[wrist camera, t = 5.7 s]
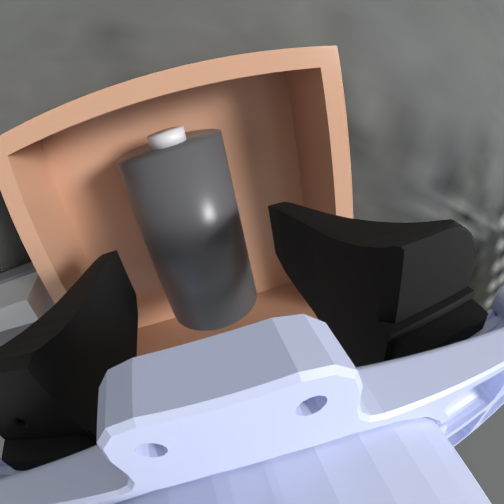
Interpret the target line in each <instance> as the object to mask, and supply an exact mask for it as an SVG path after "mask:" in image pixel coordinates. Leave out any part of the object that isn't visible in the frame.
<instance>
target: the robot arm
mask: <svg viewBox="0 0 504 504" xmlns="http://www.w3.org/2000/svg"><path fill="white" fill-rule="evenodd" d="M268 210H269V216H270V222H271V228H272V234H273V240H274V247H275V253H276V255H277V257H278V259H279V261H280V263H281V265H282V267H283V269H284V271H285V273H286V274H287V275H288V277H289V278H290V280H291V281H292V282H293V284H294V285H295V287H296V288H297V289H298V291H299V292H300V294H301V295H302V296H303V298H304V299H305V300H306V302H307V303H308V305H309V306H310V307H311V309H312V310H313V312H314V313H315V315H316V316H317V318H318V319H315V318H313V317H310V316H308V315H305V314H298V315H290V316H282V317H274V318H269V319H266V320H263V321H260V322H257V323H254V324H251V325H247V326H244V327H241V328H238V329H234V330H231V331H228V332H225V333H221V334H218V335H214V336H211V337H208V338H204V339H201V340H197V341H194V342H190V343H186V344H183V345H179V346H176V347H172V348H168V349H164V350H161V351H157V352H153V353H149V354H145V355H141V356H137V334H138V307H137V297H136V293H135V290H134V288H133V286H132V284H131V282H130V279H129V277H128V275H127V273H126V270H125V268H124V266H123V263H122V261H121V259H120V256H119V254H118V252H117V250H115V251H112V252H109V253H106V254H102V255H101V256H100V257H98V258H97V259H96V260H95V261H94V262H93V263H92V264H91V266H90V267H89V268H88V269H87V270H86V271H85V272H84V273H83V275H82V276H81V277H80V278H79V279H78V280H77V281H76V283H75V284H74V285H73V286H72V287H71V288H70V289H69V290H68V291H67V292H66V293H65V294H64V295H63V297H62V298H61V299H60V300H59V301H58V302H57V303H56V304H55V305H54V306H53V307H51V308H50V309H49V310H48V311H47V312H46V313H45V314H44V315H43V316H42V317H40V318H39V319H38V320H37V321H35V322H34V323H33V324H31V325H30V326H29V327H28V328H26V329H25V330H24V331H23V332H21V333H20V334H18V335H17V336H16V337H14V338H13V339H11V340H10V341H8V342H7V343H5V344H3V345H2V346H0V436H1V437H3V438H4V439H5V442H4V447H3V454H2V458H0V504H491V502H490V501H489V499H488V498H487V496H486V495H485V493H484V492H483V490H482V489H481V487H480V486H479V484H478V483H477V481H476V480H475V478H474V477H473V475H472V474H471V472H470V471H469V469H468V468H467V466H466V465H465V463H464V462H463V460H462V459H461V458H460V456H459V455H458V453H457V452H456V451H455V449H454V448H453V447H454V446H455V445H457V444H458V443H459V442H461V441H462V440H463V439H464V438H465V437H467V436H468V435H469V434H470V433H471V432H473V431H474V430H475V429H476V428H477V427H478V426H480V425H481V424H482V423H483V422H484V421H485V420H486V419H487V418H489V417H490V416H491V415H492V414H493V413H494V412H495V411H496V410H497V409H498V408H499V407H501V406H502V405H503V404H504V285H503V286H501V287H500V289H499V290H498V291H497V293H496V295H495V298H494V301H493V304H492V309H490V310H489V311H488V312H486V311H485V310H484V309H483V308H482V307H481V306H480V305H479V304H478V303H476V302H475V301H474V300H473V299H472V298H473V297H474V295H475V293H474V291H473V290H472V289H471V288H470V287H468V286H467V285H468V281H469V277H470V273H471V269H472V264H473V260H474V252H475V247H474V239H473V236H472V234H471V232H470V231H469V230H468V229H466V228H465V227H464V226H462V225H460V224H459V223H457V222H456V221H454V220H441V221H431V222H417V223H390V222H375V221H366V220H359V219H352V218H347V217H342V216H338V215H333V214H329V213H325V212H321V211H318V210H314V209H311V208H307V207H304V206H301V205H297V204H293V203H289V202H281V203H277V204H273V205H269V206H268Z"/></svg>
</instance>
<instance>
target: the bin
mask: <svg viewBox="0 0 504 504" xmlns="http://www.w3.org/2000/svg"><path fill="white" fill-rule="evenodd" d="M176 126H184V130H185V132H189V131H194V130H201V129H220V130H221V132H222V136H223V141H224V146H225V150H226V155H227V159H228V164H229V169H230V173H231V178H232V182H233V187H234V191H235V196H236V200H237V205H238V210H239V214H240V219H241V223H242V228H243V232H244V237H245V241H246V246H247V250H248V255H249V259H250V264H251V268H252V273H253V277H254V282H255V286H256V291H257V298H256V302H255V304H254V306H253V308H252V309H251V310H250V312H249V313H248V314H247V315H246V316H244V317H243V318H242V319H240V320H239V321H237V322H236V323H234V324H232V325H230V326H227V327H224V328H221V329H217V330H211V331H198V330H193V329H189V328H187V327H185V326H183V325H182V324H180V323H179V322H178V321H177V319H176V317H175V315H174V313H173V310H172V308H171V306H170V303H169V301H168V299H167V296H166V294H165V292H164V289H163V287H162V284H161V282H160V280H159V277H158V275H157V272H156V270H155V267H154V265H153V262H152V260H151V257H150V255H149V252H148V249H147V247H146V244H145V242H144V239H143V236H142V234H141V231H140V228H139V225H138V223H137V220H136V217H135V214H134V211H133V209H132V206H131V203H130V200H129V197H128V194H127V191H126V188H125V185H124V182H123V179H122V176H121V173H120V170H119V167H118V163H117V160H118V159H119V158H120V157H121V156H123V155H124V154H126V153H128V152H130V151H132V150H134V149H136V148H138V147H140V146H143V145H145V144H148V140H147V136H148V135H150V134H153V133H155V132H158V131H161V130H164V129H167V128H171V127H176ZM0 191H1V193H2V196H3V198H4V201H5V204H6V206H7V208H8V211H9V213H10V216H11V218H12V220H13V223H14V225H15V227H16V230H17V232H18V234H19V236H20V238H21V240H22V243H23V245H24V247H25V249H26V251H27V253H28V255H29V257H30V259H31V261H32V263H33V265H34V267H35V269H36V271H37V273H38V274H39V276H40V278H41V280H42V282H43V284H44V286H45V287H46V289H47V291H48V293H49V294H50V296H51V298H52V300H53V301H54V303H55V304H56V303H57V302H58V301H59V300H60V299H61V298H62V297H63V295H64V294H65V293H66V292H67V291H68V290H69V289H70V288H71V287H72V286H73V285H74V284H75V283H76V281H77V280H78V279H79V278H80V277H81V276H82V275H83V273H84V272H85V271H86V270H87V269H88V268H89V267H90V266H91V264H92V263H93V262H94V261H95V260H96V259H97V258H98V257H100V256H101V255H102V254H106V253H109V252H112V251H115V250H117V252H118V254H119V256H120V259H121V261H122V263H123V266H124V268H125V270H126V273H127V275H128V277H129V279H130V282H131V284H132V286H133V288H134V290H135V293H136V297H137V307H138V334H137V356H141V355H145V354H149V353H153V352H157V351H161V350H164V349H168V348H172V347H176V346H179V345H183V344H186V343H190V342H194V341H197V340H201V339H204V338H208V337H211V336H214V335H218V334H221V333H225V332H228V331H231V330H234V329H238V328H241V327H244V326H247V325H251V324H254V323H257V322H260V321H263V320H266V319H269V318H274V317H282V316H290V315H298V314H305V315H308V316H310V317H313V318H315V319H318V318H317V316H316V315H315V313H314V312H313V310H312V309H311V307H310V306H309V305H308V303H307V302H306V300H305V299H304V298H303V296H302V295H301V294H300V292H299V291H298V289H297V288H296V287H295V285H294V284H293V282H292V281H291V280H290V278H289V277H288V275H287V274H286V273H285V271H284V269H283V267H282V265H281V263H280V261H279V259H278V257H277V255H276V253H275V247H274V240H273V234H272V228H271V222H270V216H269V210H268V206H269V205H273V204H277V203H281V202H289V203H293V204H297V205H301V206H304V207H307V208H311V209H314V210H318V211H321V212H325V213H329V214H333V215H338V216H342V217H347V218H352V219H353V199H352V179H351V163H350V149H349V137H348V126H347V116H346V107H345V98H344V90H343V82H342V75H341V68H340V61H339V55H338V48H337V46H316V47H300V48H288V49H278V50H269V51H261V52H253V53H246V54H240V55H234V56H228V57H222V58H217V59H211V60H206V61H201V62H197V63H192V64H188V65H183V66H179V67H175V68H171V69H167V70H163V71H160V72H156V73H152V74H149V75H145V76H142V77H139V78H135V79H132V80H129V81H126V82H123V83H119V84H116V85H114V86H111V87H108V88H105V89H102V90H99V91H97V92H94V93H91V94H88V95H86V96H83V97H81V98H78V99H76V100H73V101H71V102H68V103H66V104H64V105H61V106H59V107H57V108H54V109H52V110H50V111H48V112H46V113H43V114H41V115H39V116H37V117H35V118H33V119H31V120H29V121H27V122H25V123H23V124H21V125H19V126H17V127H15V128H13V129H11V130H9V131H7V132H5V133H4V134H2V135H0Z"/></svg>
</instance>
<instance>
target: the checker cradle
mask: <svg viewBox="0 0 504 504" xmlns="http://www.w3.org/2000/svg"><path fill="white" fill-rule="evenodd" d="M54 305H55V303H54V301H53V300H52V298H51V296H50V294H49V293H48V291H47V289H46V287H45V286H44V284H43V282H42V280H41V278H40V276H39V274H38V273H37V271H36V269H35V267H34V265H33V263H32V262H29V263H27V264H24V265H21V266H19V267H16V268H14V269H11V270H8V271H6V272H3V273H1V274H0V346H2V345H3V344H5V343H7V342H8V341H10V340H11V339H13V338H14V337H16V336H17V335H18V334H20V333H21V332H23V331H24V330H25V329H26V328H28V327H29V326H30V325H31V324H33V323H34V322H35V321H37V320H38V319H39V318H40V317H42V316H43V315H44V314H45V313H46V312H47V311H48V310H49V309H50V308H51V307H53V306H54Z"/></svg>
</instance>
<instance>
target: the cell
mask: <svg viewBox="0 0 504 504" xmlns="http://www.w3.org/2000/svg"><path fill="white" fill-rule="evenodd" d="M147 140H148V144H145V145H143V146H140V147H138V148H136V149H134V150H132V151H130V152H128V153H126V154H124V155H123V156H121V157H120V158H119V159H118V160H117V163H118V167H119V170H120V173H121V176H122V179H123V182H124V185H125V188H126V191H127V194H128V197H129V200H130V203H131V206H132V209H133V211H134V214H135V217H136V220H137V223H138V225H139V228H140V231H141V234H142V236H143V239H144V242H145V244H146V247H147V249H148V252H149V255H150V257H151V260H152V262H153V265H154V267H155V270H156V272H157V275H158V277H159V280H160V282H161V284H162V287H163V289H164V292H165V294H166V296H167V299H168V301H169V303H170V306H171V308H172V310H173V313H174V315H175V317H176V319H177V321H178V322H179V323H180V324H182V325H183V326H185V327H187V328H189V329H193V330H198V331H211V330H217V329H221V328H224V327H227V326H230V325H232V324H234V323H236V322H237V321H239V320H240V319H242V318H243V317H244V316H246V315H247V314H248V313H249V312H250V310H251V309H252V308H253V306H254V304H255V302H256V298H257V291H256V286H255V282H254V277H253V273H252V268H251V264H250V259H249V255H248V250H247V246H246V241H245V237H244V232H243V228H242V223H241V219H240V214H239V210H238V205H237V200H236V196H235V191H234V187H233V182H232V178H231V173H230V169H229V164H228V159H227V155H226V150H225V146H224V141H223V136H222V132H221V130H220V129H201V130H194V131H189V132H185V130H184V126H176V127H171V128H167V129H164V130H161V131H158V132H155V133H153V134H150V135H148V136H147Z"/></svg>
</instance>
